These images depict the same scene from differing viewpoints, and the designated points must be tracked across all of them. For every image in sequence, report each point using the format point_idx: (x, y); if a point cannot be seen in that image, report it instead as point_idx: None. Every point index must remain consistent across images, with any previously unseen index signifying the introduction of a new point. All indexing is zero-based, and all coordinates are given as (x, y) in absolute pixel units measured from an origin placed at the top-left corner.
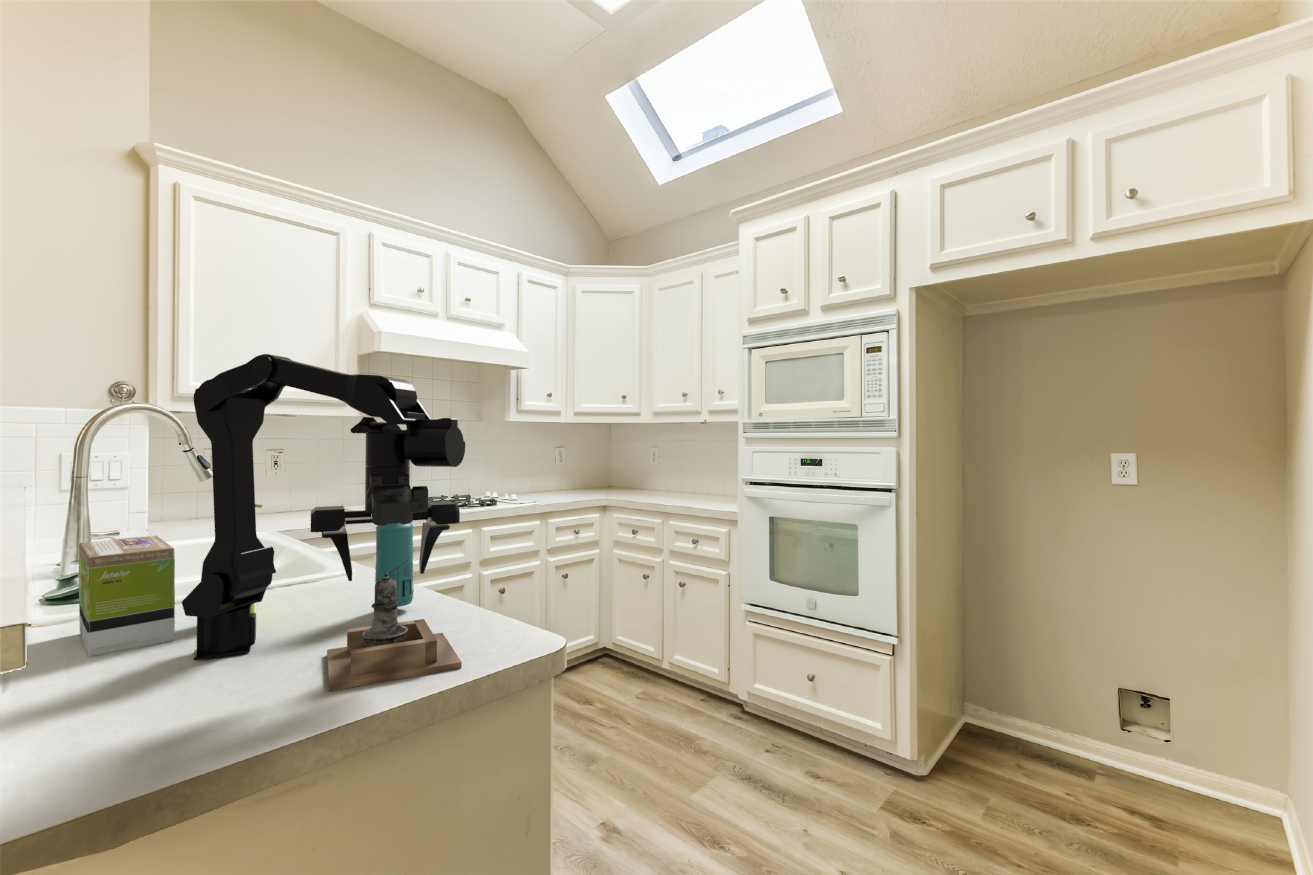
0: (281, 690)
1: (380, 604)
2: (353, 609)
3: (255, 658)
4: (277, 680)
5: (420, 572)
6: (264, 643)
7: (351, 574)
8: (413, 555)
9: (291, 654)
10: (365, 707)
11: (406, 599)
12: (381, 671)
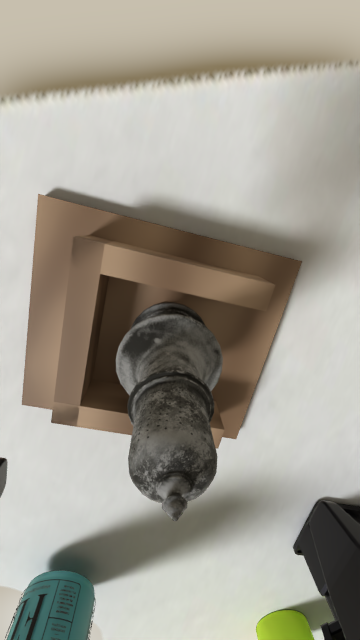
0: (345, 321)
1: (197, 392)
2: (124, 606)
3: (316, 477)
4: (332, 368)
5: (4, 469)
6: (283, 529)
7: (346, 525)
8: None
9: (272, 465)
10: (281, 124)
11: (39, 586)
12: (203, 262)
